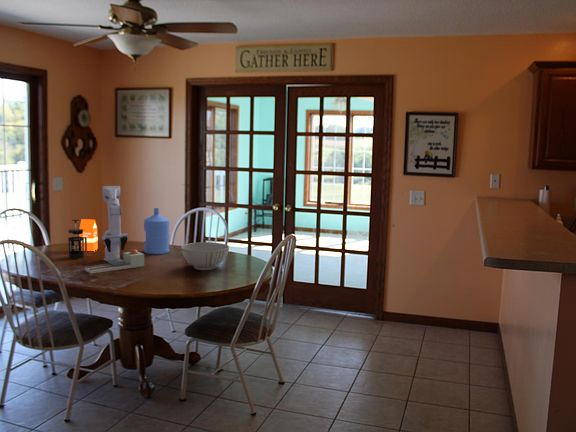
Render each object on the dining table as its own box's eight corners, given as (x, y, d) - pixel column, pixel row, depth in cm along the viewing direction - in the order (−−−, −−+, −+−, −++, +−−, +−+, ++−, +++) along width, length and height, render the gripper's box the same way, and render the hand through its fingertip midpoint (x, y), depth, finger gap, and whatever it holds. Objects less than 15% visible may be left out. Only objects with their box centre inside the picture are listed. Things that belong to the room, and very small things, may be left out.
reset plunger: (129, 256, 320) (129, 249, 319) (135, 255, 322) (135, 249, 322) (132, 257, 317) (132, 250, 317) (138, 257, 319) (138, 250, 319)
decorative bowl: (221, 274, 304) (221, 252, 302) (173, 271, 309) (173, 249, 307) (234, 263, 330) (234, 243, 328) (190, 261, 335) (190, 241, 333)
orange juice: (93, 252, 354) (92, 220, 351) (79, 251, 354) (78, 220, 351) (97, 249, 361) (97, 218, 359) (84, 249, 362) (83, 218, 359)
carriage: (108, 263, 314) (108, 252, 313) (118, 261, 318) (118, 251, 317) (113, 265, 309) (113, 254, 308) (123, 264, 313) (123, 253, 312)
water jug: (174, 251, 360) (174, 208, 356) (156, 255, 347) (156, 210, 343) (157, 248, 368) (156, 206, 364) (138, 252, 355) (138, 208, 351)
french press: (72, 260, 330) (70, 221, 327) (64, 257, 336) (62, 219, 333) (90, 257, 339) (89, 219, 335) (82, 254, 345) (81, 217, 341)
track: (84, 270, 307) (84, 257, 306) (136, 262, 327) (136, 251, 326) (91, 273, 300) (90, 260, 299) (144, 266, 319) (144, 254, 318)
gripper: (105, 229, 303) (106, 253, 305) (130, 226, 312) (131, 250, 314) (100, 227, 308) (101, 251, 310) (125, 225, 317) (126, 248, 319)
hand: (115, 251), depth 312 cm, fingers open, 7 cm apart
